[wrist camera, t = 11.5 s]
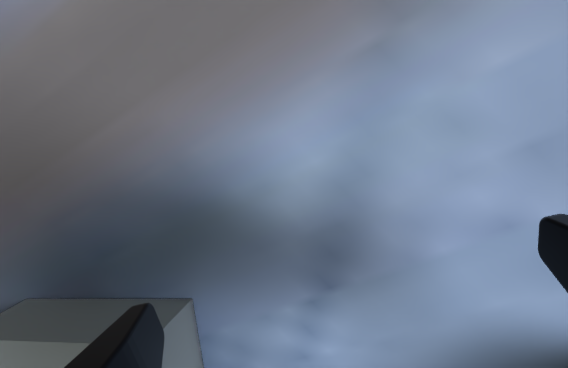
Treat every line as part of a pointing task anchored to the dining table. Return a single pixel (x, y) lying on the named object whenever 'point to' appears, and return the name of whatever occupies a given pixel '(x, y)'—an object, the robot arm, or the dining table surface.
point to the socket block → (89, 330)
